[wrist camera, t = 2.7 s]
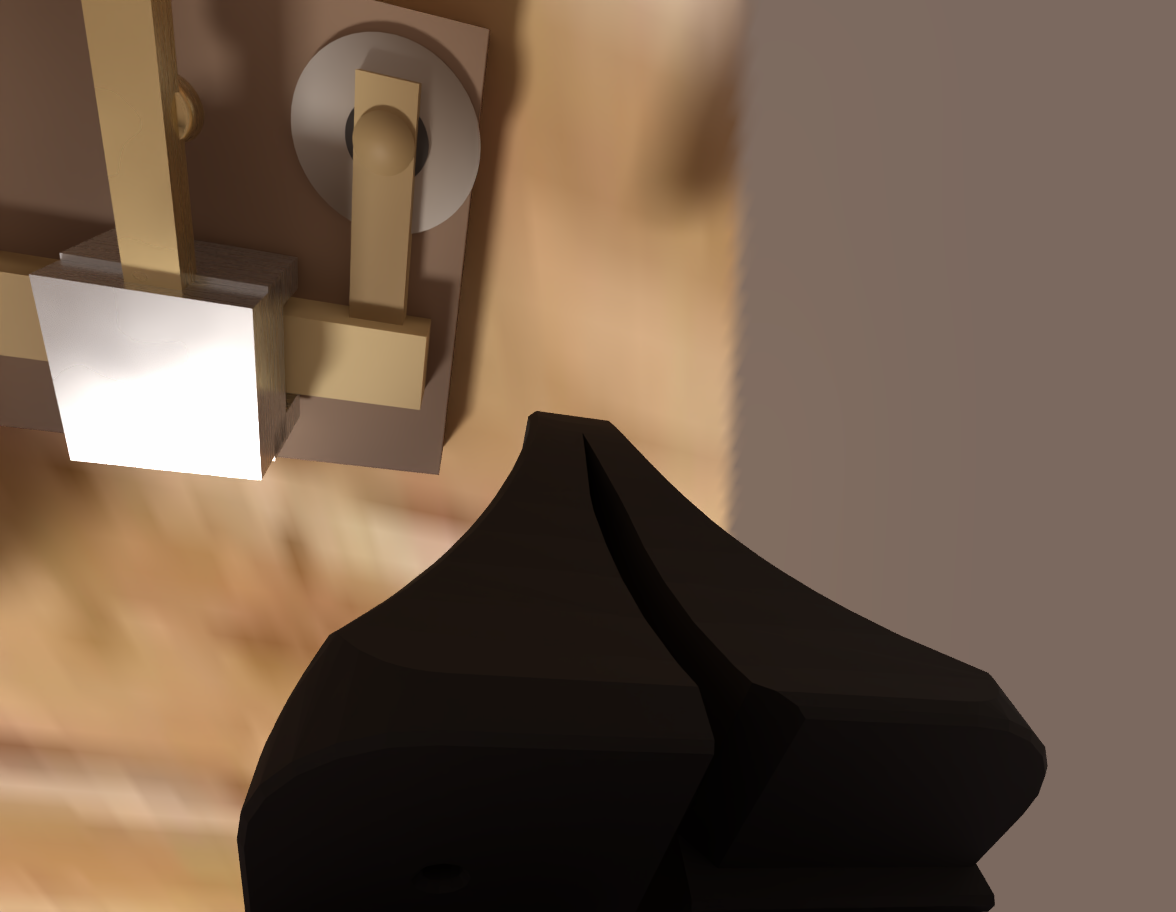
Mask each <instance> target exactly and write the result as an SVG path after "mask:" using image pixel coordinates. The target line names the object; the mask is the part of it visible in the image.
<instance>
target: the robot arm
mask: <svg viewBox="0 0 1176 912" xmlns="http://www.w3.org/2000/svg"><path fill="white" fill-rule="evenodd" d="M1046 770H1047V759H1046V750H1045V746H1044V745H1043V744H1042V742H1041V741H1040V740H1039V738H1038V737H1037V736H1036V734H1035V733H1034V732H1033V731H1032V729H1031V728H1030V726H1029V725H1028V724H1027V722H1026V721H1025V720H1024V719H1023V717H1022V716H1021V714H1020V713H1019V712H1018V711H1017V709H1016V708H1015V706H1014V705H1013V704H1012V703H1011V701H1010V700H1009V699H1008V697H1007V696H1006V695H1005V693H1004V692H1003V691H1002V689H1001V688H1000V687H999V685H998V684H997V683H996V681H995V680H994V679H993V678H992V676H991V675H989V673H987V672H985V671H982V670H980V669H978V668H975V667H973V666H971V665H968V664H966V663H964V662H961V661H959V660H956V659H954V658H952V657H949V656H947V655H945V654H942V653H940V652H938V651H936V650H933V649H931V648H929V647H926V646H924V645H921V644H919V643H917V642H914V641H912V640H910V639H907V638H905V637H903V636H900V635H898V634H896V633H894V632H892V631H890V630H888V629H886V628H884V627H882V626H880V625H878V624H876V623H874V622H872V621H870V620H868V619H866V618H864V617H862V616H860V615H858V614H856V613H854V612H852V611H850V610H848V609H846V608H844V607H843V606H841V605H839V604H837V603H835V602H833V601H832V600H830V599H828V598H826V597H824V596H823V595H821V594H819V593H817V592H816V591H814V590H812V589H811V588H809V587H807V586H806V585H804V584H802V583H801V582H799V581H797V580H796V579H794V578H793V577H791V576H789V575H787V574H786V573H784V572H783V571H781V570H779V569H778V568H776V567H775V566H773V565H772V564H770V563H769V562H767V561H766V560H764V559H763V558H761V557H760V556H758V555H757V554H756V553H754V552H753V551H751V550H750V549H749V548H747V547H746V546H745V545H743V544H742V543H740V542H739V541H738V540H736V539H735V538H734V537H732V536H731V535H730V534H728V533H727V532H726V531H724V530H723V529H722V528H721V527H719V526H718V525H717V524H716V523H714V522H713V521H712V520H711V519H710V518H708V517H707V516H706V515H705V514H704V513H703V512H702V511H700V510H699V509H698V508H697V507H696V506H695V505H694V504H692V503H691V502H690V501H689V500H688V499H687V498H686V497H684V496H683V495H682V494H681V493H680V492H679V491H678V490H677V489H676V488H675V487H674V486H673V485H672V484H671V483H670V482H669V481H668V480H667V479H666V478H665V477H664V476H663V475H662V474H661V473H660V472H659V471H658V470H657V469H656V468H655V467H654V466H653V465H652V464H651V463H650V462H649V461H648V460H647V459H646V458H645V457H644V456H643V455H642V454H641V453H640V452H639V451H638V450H637V449H636V448H635V447H634V446H633V445H632V443H631V442H630V441H629V440H628V439H627V438H626V437H625V436H624V435H623V434H622V433H621V432H620V431H619V430H618V429H617V428H616V427H615V426H614V425H613V424H612V423H610V422H609V421H605V420H598V419H591V418H583V417H576V416H569V415H562V414H554V413H547V412H540V411H536V412H534V413H533V414H531V415H530V416H528V421H527V426H526V432H525V437H524V443H523V448H522V451H521V453H520V455H519V457H518V459H517V461H516V463H515V465H514V467H513V469H512V471H511V473H510V474H509V476H508V477H507V479H506V481H505V482H504V484H503V485H502V487H501V488H500V490H499V492H498V493H497V495H496V496H495V498H494V499H493V500H492V502H491V503H490V504H489V506H488V507H487V508H486V510H485V511H484V512H483V513H482V515H481V516H480V517H479V518H478V519H477V521H476V522H475V523H474V524H473V525H472V526H471V527H470V529H469V530H468V531H467V532H466V533H465V534H464V535H463V536H462V537H461V538H460V539H459V540H458V541H457V542H456V543H455V544H454V545H453V546H452V547H451V548H450V549H449V550H448V551H447V552H446V553H445V554H444V555H443V556H442V557H441V558H439V559H438V560H437V561H436V562H435V563H434V564H433V565H431V566H430V567H429V568H427V569H426V570H425V571H424V572H422V573H421V574H420V575H419V576H417V577H416V578H415V579H414V580H412V581H411V582H410V583H409V584H407V585H406V586H405V587H403V588H402V589H401V590H400V591H398V592H397V593H396V594H394V595H393V596H391V597H390V598H389V599H387V600H386V601H384V602H383V603H381V604H379V605H378V606H376V607H375V608H373V609H371V610H370V611H368V612H366V613H365V614H363V615H362V616H360V617H358V618H357V619H355V620H354V621H352V622H350V623H349V624H347V625H346V626H344V627H342V628H341V629H339V630H337V631H335V632H334V633H332V634H330V635H329V636H328V638H327V639H326V641H325V642H324V643H323V645H322V646H321V648H320V649H319V651H318V652H317V654H316V655H315V657H314V658H313V660H312V661H311V663H310V664H309V666H308V667H307V669H306V670H305V672H304V674H303V675H302V677H301V679H300V680H299V682H298V683H297V685H296V687H295V688H294V690H293V692H292V693H291V695H290V697H289V698H288V700H287V702H286V704H285V706H284V708H283V710H282V711H281V713H280V715H279V717H278V719H277V721H276V723H275V725H274V728H273V730H272V731H271V733H270V735H269V737H268V739H267V741H266V744H265V746H264V748H263V751H262V753H261V756H260V758H259V761H258V764H257V767H256V770H255V773H254V776H253V779H252V781H251V784H250V787H249V790H248V793H247V796H246V799H245V802H244V804H243V807H242V810H241V814H240V821H239V828H238V835H237V844H238V853H239V861H240V870H241V879H242V887H243V896H244V905H245V912H988V911H989V910H990V909H991V908H992V907H993V906H994V905H995V902H994V894H993V892H992V890H991V889H990V887H989V885H988V884H987V882H986V880H985V878H984V876H983V875H982V873H981V871H980V870H979V868H978V866H977V864H976V863H977V862H978V861H979V860H980V858H981V857H982V856H983V855H984V854H985V853H986V852H987V851H988V850H989V849H990V848H991V847H992V846H993V845H994V844H995V843H996V842H997V841H998V840H999V839H1000V838H1001V837H1002V836H1003V835H1004V834H1005V832H1007V831H1008V829H1009V828H1010V827H1011V826H1012V825H1013V824H1014V823H1015V822H1016V821H1017V820H1018V819H1019V818H1020V817H1021V816H1022V815H1023V814H1024V812H1025V811H1026V810H1027V809H1028V807H1029V806H1030V805H1031V803H1032V802H1033V801H1034V799H1035V798H1036V797H1037V796H1038V794H1039V791H1040V788H1041V785H1042V782H1043V780H1044V777H1045V774H1046Z"/></svg>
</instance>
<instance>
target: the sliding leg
mask: <svg viewBox="0 0 1176 912" xmlns="http://www.w3.org/2000/svg"><path fill="white" fill-rule="evenodd" d="M81 2H82V9H83V16H84V22H85V29H86V35H87V42H88V48H89V55H90V62H91V68H92V75H93V81H94V88H95V94H96V101H97V107H98V114H99V121H100V127H101V134H102V140H103V147H104V153H105V160H106V167H107V173H108V180H109V186H110V193H111V199H112V206H113V213H114V219H115V226H116V228H113V229H111V230H109V231H107V232H105V233H102V234H100V235H98V236H96V237H94V238H91V239H89V240H87V241H85V242H82V243H80V244H78V245H76V246H74V247H71V248H69V249H67V250H65V251H62V252H60V253H59V254H60V260H58V261H56V262H54V263H52V264H50V265H47V266H45V267H43V268H41V269H39V270H37V271H35V272H32V273H30V274H29V278H30V282H31V287H32V291H33V296H34V300H35V304H36V309H37V313H38V318H39V322H40V327H41V331H42V335H43V340H44V344H45V349H46V353H47V358H48V362H49V366H50V371H51V375H52V380H53V384H54V389H55V393H56V397H57V402H58V406H59V411H60V415H61V420H62V424H63V428H64V433H65V437H66V442H67V446H68V451H69V455H70V459H71V460H73V461H83V462H93V463H102V464H112V465H121V466H131V467H140V468H150V469H159V470H169V471H179V472H188V473H198V474H207V475H217V476H226V477H236V478H246V479H255V480H262V478H263V476H264V475H265V473H266V471H267V469H268V467H269V466H270V464H271V462H272V461H275V460H276V458H277V456H278V454H279V453H280V451H281V449H282V447H283V446H284V444H285V442H286V440H287V438H288V437H289V435H290V433H291V431H292V429H293V428H294V426H295V424H296V422H297V420H298V419H299V417H300V394H294V393H286V392H285V360H284V324H283V305H284V304H285V303H286V302H287V300H288V299H289V298H290V297H291V296H292V295H293V294H294V292H295V291H296V290H297V289H298V259H297V257H293V256H287V255H281V254H276V253H270V252H264V251H258V250H252V249H246V248H240V247H235V246H229V245H223V244H217V243H211V242H205V241H200V240H194V238H193V227H192V217H191V206H190V195H189V185H188V174H187V164H186V153H185V143H186V142H189V141H191V140H193V139H194V138H196V137H197V136H198V135H199V133H200V132H201V130H202V128H203V125H204V108H203V105H202V102H201V99H200V97H199V95H198V94H197V92H196V91H195V89H194V88H193V87H192V85H191V84H190V83H189V82H188V81H187V80H185V79H184V78H183V77H182V76H180V75H179V74H178V68H177V58H176V47H175V37H174V26H173V16H172V5H171V0H81Z"/></svg>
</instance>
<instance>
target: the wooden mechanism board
mask: <svg viewBox="0 0 1176 912" xmlns="http://www.w3.org/2000/svg"><path fill="white" fill-rule="evenodd" d="M171 5H172V16H173V26H174V37H175V47H176V58H177V68H178V74H179V75H180V76H182V77H183V78H184V79H185V80H187V81H188V82H189V83H190V84H191V85H192V87H193V88H194V89H195V91H196V92H197V94H198V95H199V97H200V99H201V102H202V105H203V108H204V125H203V128H202V130H201V132H200V133H199V135H198V136H197V137H196V138H194V139H193V140H191V141H189V142H186V143H185V153H186V164H187V174H188V185H189V195H190V206H191V217H192V227H193V238H194V240H200V241H205V242H211V243H217V244H223V245H229V246H235V247H240V248H246V249H252V250H258V251H264V252H270V253H276V254H281V255H287V256H293V257H297V259H298V289H297V290H296V291H295V292H294V294H293V295H292V296H291V297H290V298H289V299H288V300H287V302H286V303H285V304H284V305H283V324H284V360H285V392H286V393H294V394H300V417H299V419H298V420H297V422H296V424H295V426H294V428H293V429H292V431H291V433H290V435H289V437H288V438H287V440H286V442H285V444H284V446H283V447H282V449H281V451H280V453H279V454H278V456H277V457H283V458H292V459H301V460H310V461H319V462H328V463H337V464H346V465H355V466H364V467H373V468H382V469H391V470H399V471H408V472H417V473H426V474H435V475H439V471H440V464H441V458H442V451H443V443H444V434H445V425H446V417H447V408H448V399H449V390H450V381H451V372H452V364H453V355H454V346H455V337H456V328H457V319H458V311H459V302H460V293H461V284H462V275H463V266H464V258H465V249H466V240H467V231H468V222H469V214H470V205H471V196H472V187H473V185H474V182H475V179H476V176H477V172H478V167H479V162H480V151H481V142H480V131H479V125H480V116H481V108H482V99H483V90H484V81H485V72H486V63H487V55H488V46H489V37H490V30H489V29H486V28H482V27H478V26H474V25H470V24H466V23H462V22H458V21H454V20H450V19H446V18H442V17H439V16H435V15H431V14H427V13H423V12H419V11H415V10H411V9H407V8H403V7H399V6H395V5H391V4H387V3H383V2H379V1H375V0H171ZM113 228H116V226H115V219H114V213H113V206H112V199H111V193H110V186H109V180H108V173H107V167H106V160H105V153H104V147H103V140H102V134H101V127H100V121H99V114H98V107H97V101H96V94H95V88H94V81H93V75H92V68H91V62H90V55H89V48H88V42H87V35H86V29H85V22H84V16H83V9H82V2H81V0H0V426H6V427H15V428H24V429H33V430H42V431H51V432H60V433H64V428H63V424H62V420H61V415H60V411H59V406H58V402H57V397H56V393H55V389H54V384H53V380H52V375H51V371H50V366H49V362H48V358H47V353H46V349H45V344H44V340H43V335H42V331H41V327H40V322H39V318H38V313H37V309H36V304H35V300H34V296H33V291H32V287H31V282H30V278H29V274H30V273H32V272H35V271H37V270H39V269H41V268H43V267H45V266H47V265H50V264H52V263H54V262H56V261H58V260H60V254H59V253H60V252H62V251H65V250H67V249H69V248H71V247H74V246H76V245H78V244H80V243H82V242H85V241H87V240H89V239H91V238H94V237H96V236H98V235H100V234H102V233H105V232H107V231H109V230H111V229H113Z"/></svg>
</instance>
